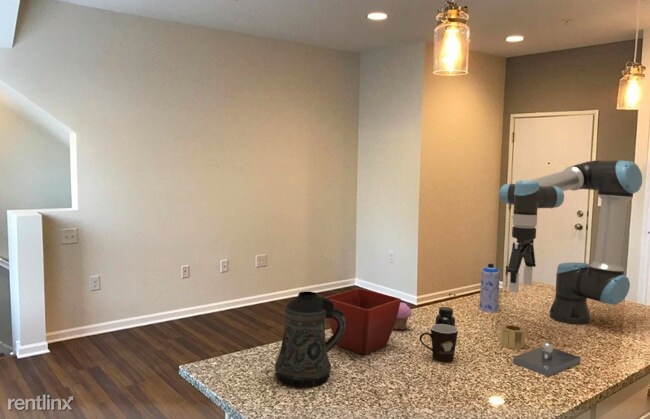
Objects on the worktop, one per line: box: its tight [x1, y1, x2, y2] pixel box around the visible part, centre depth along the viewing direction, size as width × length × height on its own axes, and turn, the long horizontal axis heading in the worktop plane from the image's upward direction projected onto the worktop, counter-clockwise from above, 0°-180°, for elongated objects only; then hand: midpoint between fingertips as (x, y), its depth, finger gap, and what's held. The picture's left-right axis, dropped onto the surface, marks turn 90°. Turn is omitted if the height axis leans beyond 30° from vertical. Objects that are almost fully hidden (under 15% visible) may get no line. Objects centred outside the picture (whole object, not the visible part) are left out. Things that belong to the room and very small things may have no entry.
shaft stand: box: [512, 341, 581, 377], centre depth 162 cm, size 18×12×6 cm, turn 125°
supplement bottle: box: [434, 306, 456, 327], centre depth 180 cm, size 7×7×12 cm
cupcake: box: [393, 302, 412, 331], centre depth 193 cm, size 9×9×10 cm
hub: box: [499, 323, 527, 350], centre depth 178 cm, size 8×8×6 cm
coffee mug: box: [419, 324, 459, 363], centre depth 165 cm, size 12×9×10 cm
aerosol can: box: [478, 263, 501, 313], centre depth 219 cm, size 8×8×20 cm
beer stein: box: [274, 291, 346, 389], centre depth 150 cm, size 16×19×25 cm
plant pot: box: [324, 288, 402, 355], centre depth 174 cm, size 19×19×17 cm
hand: (520, 288), depth 174 cm, fingers open, 13 cm apart
